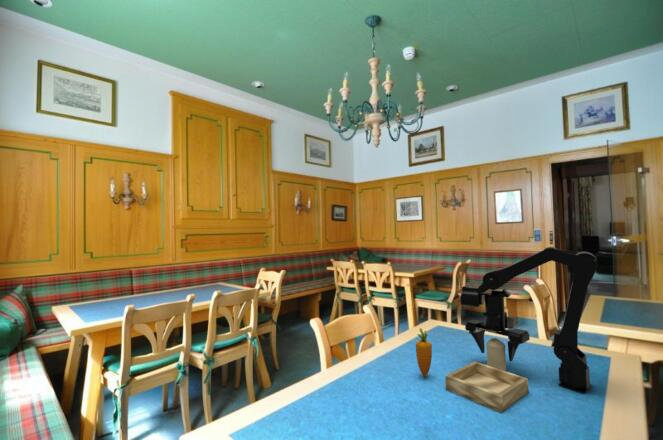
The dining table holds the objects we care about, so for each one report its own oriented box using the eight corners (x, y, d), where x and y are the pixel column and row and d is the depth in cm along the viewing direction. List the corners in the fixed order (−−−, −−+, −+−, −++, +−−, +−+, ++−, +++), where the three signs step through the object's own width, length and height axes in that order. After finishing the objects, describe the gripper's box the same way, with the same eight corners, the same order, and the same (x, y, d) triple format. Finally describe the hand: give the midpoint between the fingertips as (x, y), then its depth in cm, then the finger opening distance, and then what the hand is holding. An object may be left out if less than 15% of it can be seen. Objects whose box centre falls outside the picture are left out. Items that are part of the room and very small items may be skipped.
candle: (509, 373, 106) (508, 342, 106) (492, 373, 106) (491, 342, 106) (501, 366, 111) (499, 336, 112) (484, 366, 112) (483, 336, 112)
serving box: (528, 392, 94) (528, 378, 94) (501, 413, 84) (500, 397, 84) (475, 373, 106) (474, 361, 106) (445, 389, 97) (445, 375, 97)
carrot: (433, 381, 102) (432, 332, 103) (417, 379, 103) (415, 331, 104) (432, 374, 107) (430, 327, 107) (416, 373, 108) (414, 326, 108)
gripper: (536, 310, 107) (538, 359, 106) (480, 301, 122) (482, 343, 121) (520, 316, 100) (522, 368, 100) (463, 305, 115) (465, 351, 114)
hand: (496, 356), depth 109 cm, fingers open, 9 cm apart
